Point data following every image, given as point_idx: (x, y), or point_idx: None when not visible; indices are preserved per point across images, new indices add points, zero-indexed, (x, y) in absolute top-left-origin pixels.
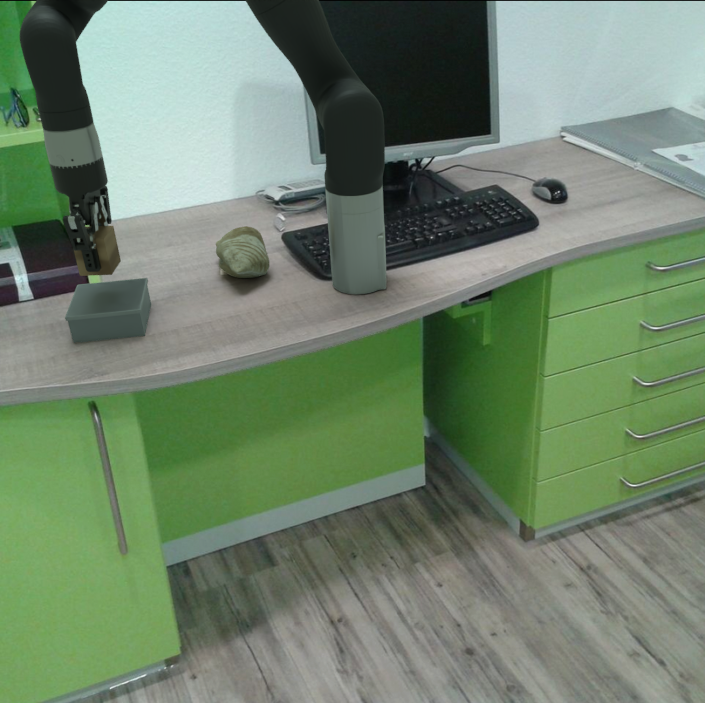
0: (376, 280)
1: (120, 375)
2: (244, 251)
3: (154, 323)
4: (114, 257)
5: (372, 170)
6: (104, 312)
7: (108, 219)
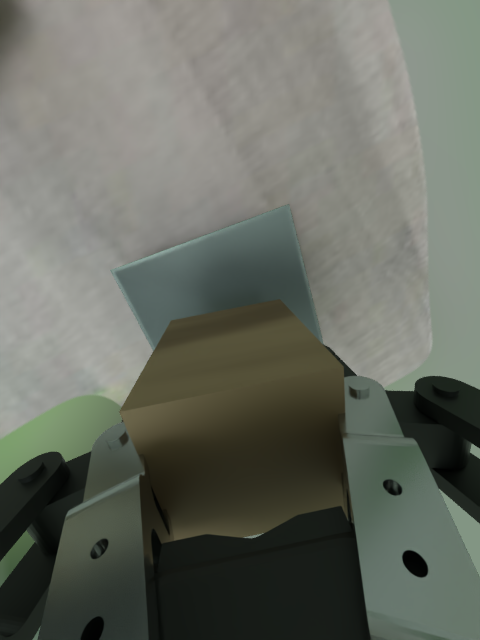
0: None
1: (414, 195)
2: None
3: (219, 216)
4: (224, 322)
5: None
6: (306, 291)
7: (47, 483)
